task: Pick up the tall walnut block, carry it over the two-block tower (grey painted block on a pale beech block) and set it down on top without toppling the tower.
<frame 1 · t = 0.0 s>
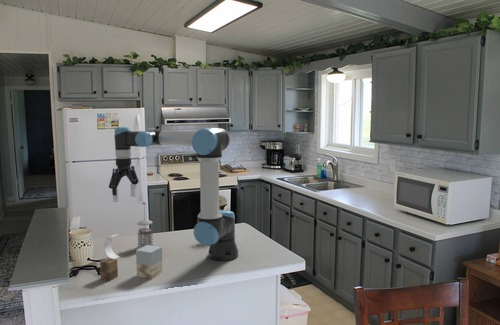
hand: (124, 199, 208), 28 cm above the worktop, fingers open, 13 cm apart
grey block: (149, 261, 181), point 6 cm above the worktop, touching beech block
white curved piece: (111, 258, 202), on the worktop
beech block: (149, 274, 181), on the worktop, touching grey block
flower in vase: (223, 238, 235), on the worktop
french press: (145, 248, 217), on the worktop
walnut block: (109, 278, 177), on the worktop
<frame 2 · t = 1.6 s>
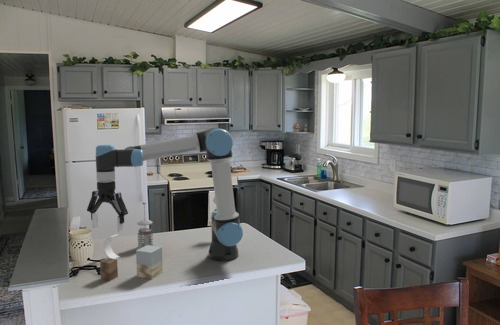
hand: (107, 229, 177), 21 cm above the worktop, fingers open, 13 cm apart
nothing on the worktop moved.
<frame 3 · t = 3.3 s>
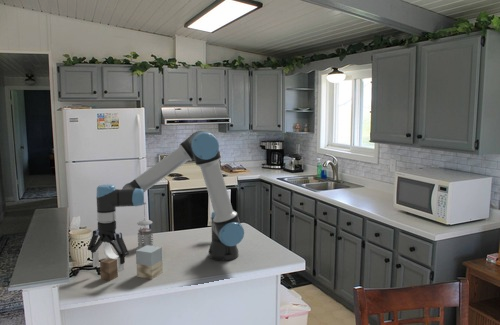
hand: (108, 268, 177), 4 cm above the worktop, fingers open, 13 cm apart
nothing on the worktop moved.
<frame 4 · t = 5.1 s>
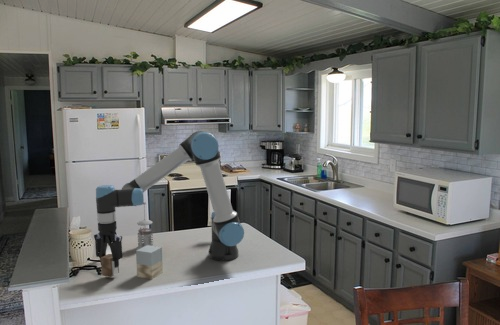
hand: (110, 273, 177), 2 cm above the worktop, fingers closed on walnut block, 5 cm apart
walnut block: (110, 273, 178), point 2 cm above the worktop, touching gripper
everything else where it was.
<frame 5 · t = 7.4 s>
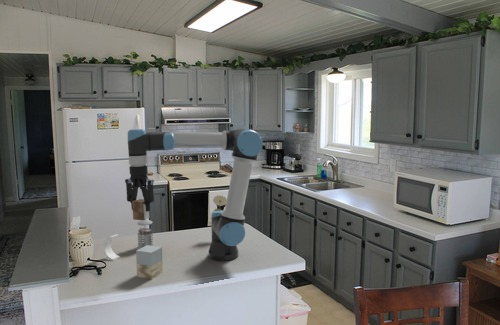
hand: (141, 217, 178), 26 cm above the worktop, fingers closed on walnut block, 5 cm apart
walnut block: (141, 218, 178), point 26 cm above the worktop, touching gripper
everything else where it was.
when the fingers open (13 cm above the worktop, at t = 9.7 s): walnut block stays where it is, resting on grey block.
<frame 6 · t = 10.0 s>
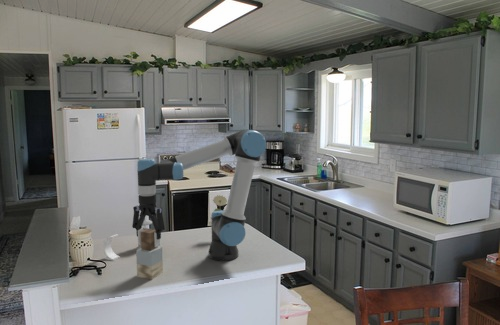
hand: (148, 244, 180), 14 cm above the worktop, fingers open, 8 cm apart
grey block: (149, 261, 180), point 6 cm above the worktop, touching beech block, walnut block
walnut block: (149, 248, 180), point 12 cm above the worktop, touching grey block
everything else where it was.
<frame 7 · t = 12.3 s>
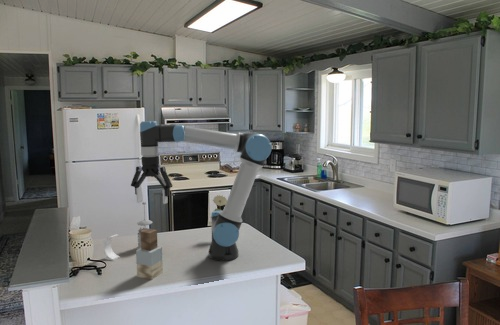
hand: (152, 202, 184), 31 cm above the worktop, fingers open, 13 cm apart
nothing on the worktop moved.
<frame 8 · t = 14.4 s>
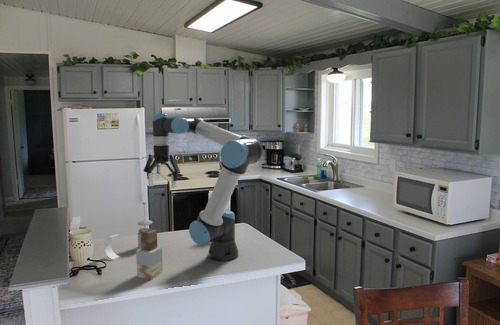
hand: (162, 186, 205), 35 cm above the worktop, fingers open, 13 cm apart
nothing on the worktop moved.
at the end: walnut block inside the target area on the grey block (0.4 cm from its centre), point 6.0 cm above the grey block's base; grey block 0.0 cm off-centre on the beech block, point 6.0 cm above the beech block's base; walnut block tilted 0° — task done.
